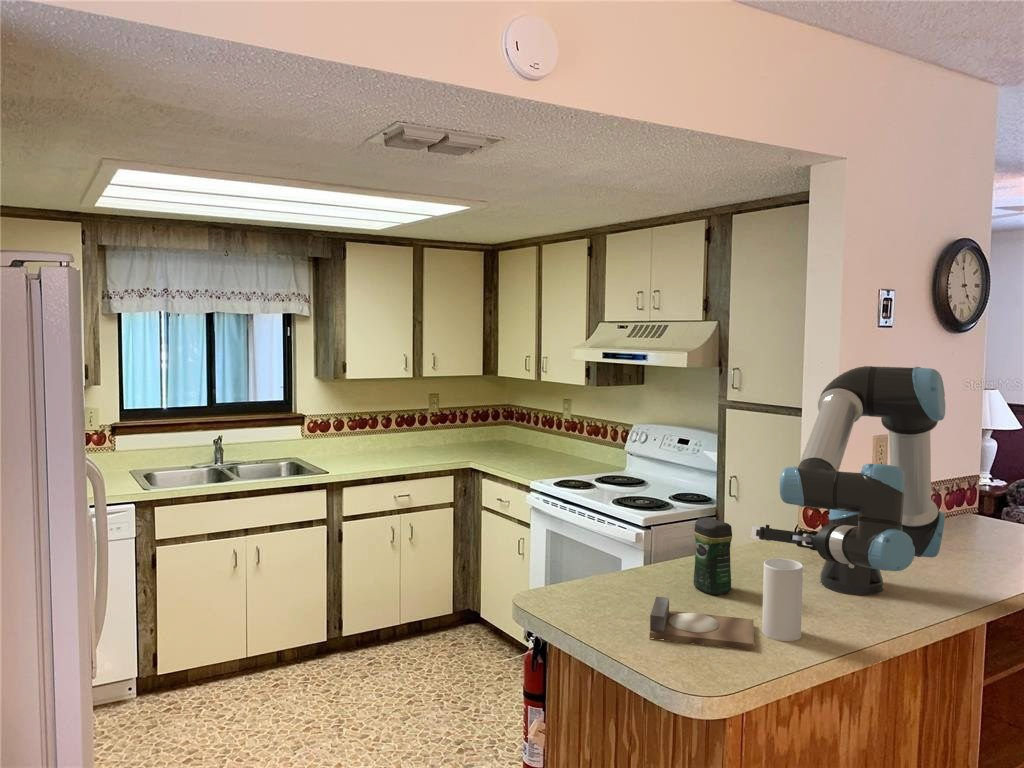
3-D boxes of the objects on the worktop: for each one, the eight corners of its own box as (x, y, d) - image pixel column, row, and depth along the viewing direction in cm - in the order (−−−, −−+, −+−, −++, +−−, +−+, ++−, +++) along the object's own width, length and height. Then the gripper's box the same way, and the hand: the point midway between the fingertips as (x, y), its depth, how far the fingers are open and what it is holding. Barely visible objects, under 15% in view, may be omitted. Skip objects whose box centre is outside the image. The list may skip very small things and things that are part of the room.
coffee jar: (736, 593, 198) (738, 522, 197) (711, 597, 195) (712, 525, 194) (712, 581, 207) (713, 513, 206) (688, 585, 204) (689, 516, 203)
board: (753, 625, 177) (753, 604, 177) (753, 650, 164) (754, 627, 164) (656, 615, 184) (656, 595, 183) (649, 638, 170) (649, 616, 170)
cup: (756, 627, 177) (757, 558, 175) (791, 625, 177) (793, 557, 176) (770, 641, 168) (772, 570, 167) (807, 640, 169) (809, 569, 168)
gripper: (787, 555, 150) (728, 545, 170) (893, 571, 156) (824, 560, 176) (790, 516, 151) (732, 511, 171) (896, 534, 157) (827, 527, 178)
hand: (779, 536), depth 174 cm, fingers open, 13 cm apart
